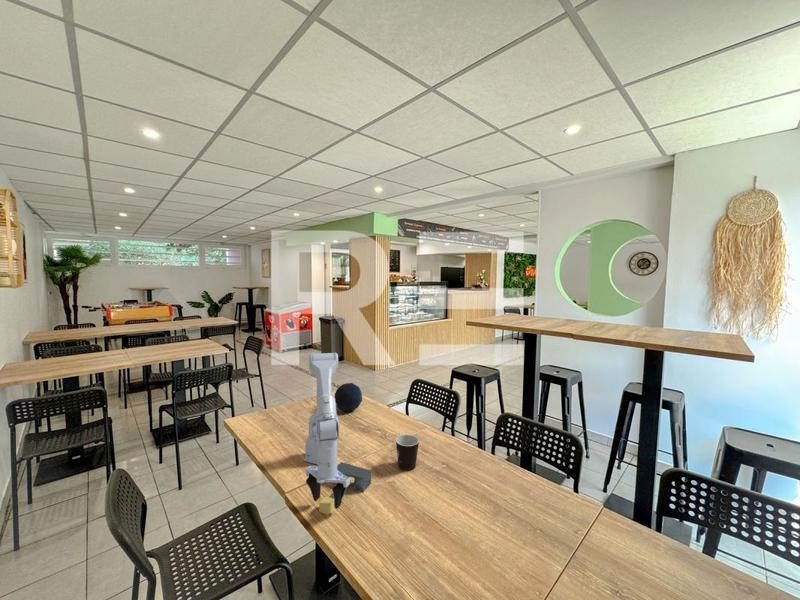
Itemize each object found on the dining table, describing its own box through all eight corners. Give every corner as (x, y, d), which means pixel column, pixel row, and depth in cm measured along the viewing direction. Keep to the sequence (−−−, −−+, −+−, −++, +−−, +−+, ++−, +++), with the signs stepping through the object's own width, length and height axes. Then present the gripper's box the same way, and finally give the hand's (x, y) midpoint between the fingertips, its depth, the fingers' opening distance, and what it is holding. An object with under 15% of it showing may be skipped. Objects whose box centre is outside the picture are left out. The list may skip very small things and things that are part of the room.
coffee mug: (416, 474, 115) (417, 447, 114) (393, 471, 117) (393, 444, 116) (421, 457, 126) (421, 432, 126) (399, 454, 128) (399, 429, 128)
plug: (341, 489, 107) (341, 480, 106) (349, 491, 105) (349, 482, 105) (319, 511, 96) (319, 502, 96) (328, 515, 95) (328, 505, 95)
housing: (332, 482, 110) (332, 469, 110) (341, 474, 114) (341, 462, 114) (363, 492, 105) (363, 478, 105) (371, 483, 110) (371, 470, 109)
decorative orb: (351, 391, 183) (340, 374, 174) (371, 397, 174) (360, 380, 166) (336, 413, 174) (323, 396, 166) (357, 420, 165) (344, 403, 157)
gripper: (298, 460, 95) (298, 504, 96) (340, 472, 89) (340, 519, 90) (314, 448, 102) (314, 490, 102) (353, 459, 96) (353, 503, 97)
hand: (327, 502), depth 97 cm, fingers open, 7 cm apart
